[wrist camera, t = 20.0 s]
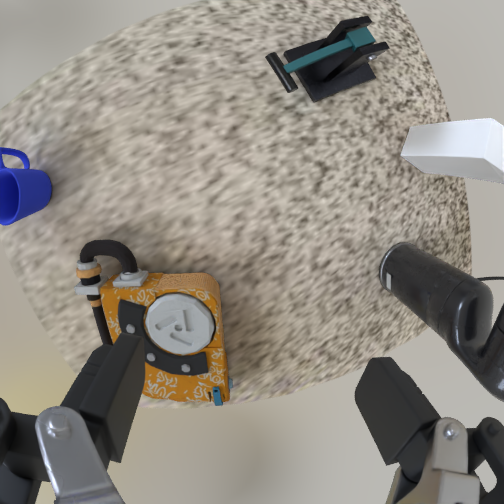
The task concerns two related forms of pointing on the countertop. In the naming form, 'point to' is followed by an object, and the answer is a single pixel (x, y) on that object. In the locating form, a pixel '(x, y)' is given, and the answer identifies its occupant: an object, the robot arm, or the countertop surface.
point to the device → (161, 323)
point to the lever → (318, 56)
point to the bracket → (336, 62)
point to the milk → (458, 149)
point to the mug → (21, 189)
